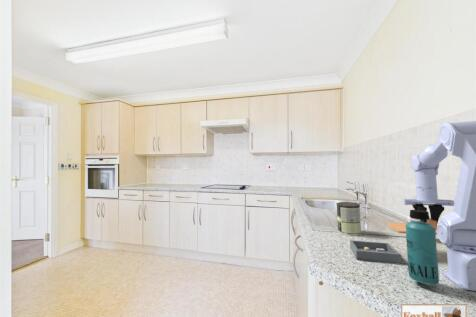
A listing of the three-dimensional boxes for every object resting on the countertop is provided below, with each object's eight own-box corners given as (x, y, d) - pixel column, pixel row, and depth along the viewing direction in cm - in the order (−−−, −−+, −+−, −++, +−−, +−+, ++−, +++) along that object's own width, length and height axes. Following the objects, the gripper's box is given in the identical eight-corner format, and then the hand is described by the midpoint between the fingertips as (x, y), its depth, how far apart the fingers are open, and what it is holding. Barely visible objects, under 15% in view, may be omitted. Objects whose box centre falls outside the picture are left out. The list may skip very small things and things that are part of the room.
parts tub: (401, 263, 68) (400, 254, 68) (356, 259, 72) (356, 250, 72) (388, 251, 78) (388, 243, 78) (350, 247, 82) (350, 240, 82)
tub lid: (446, 236, 69) (445, 223, 69) (398, 234, 73) (397, 222, 73) (427, 226, 80) (426, 215, 80) (386, 225, 84) (385, 215, 84)
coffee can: (333, 231, 104) (331, 203, 105) (348, 228, 108) (346, 201, 109) (350, 237, 95) (349, 206, 96) (366, 234, 99) (364, 204, 99)
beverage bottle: (424, 277, 59) (419, 207, 60) (448, 291, 53) (442, 212, 54) (402, 278, 59) (397, 208, 60) (423, 292, 52) (418, 212, 53)
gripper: (444, 186, 77) (447, 223, 77) (398, 186, 82) (400, 221, 81) (457, 188, 71) (460, 228, 70) (406, 188, 75) (409, 226, 74)
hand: (429, 225), depth 75 cm, fingers closed on tub lid, 2 cm apart
